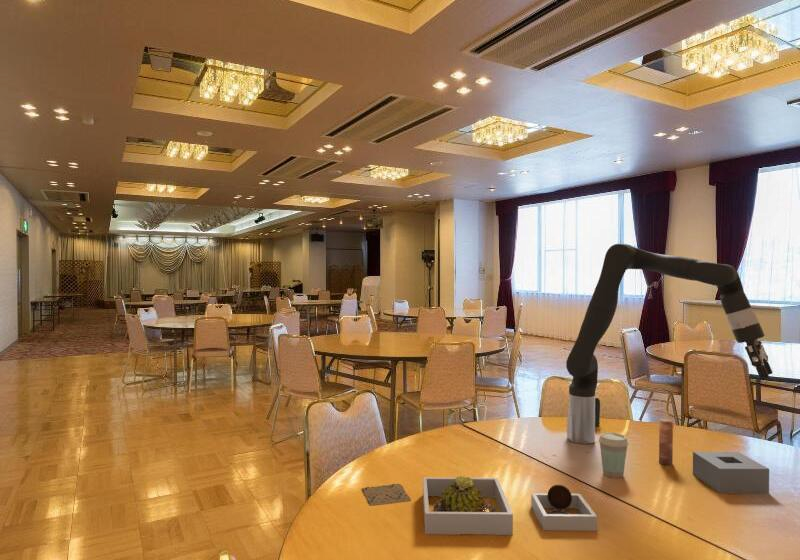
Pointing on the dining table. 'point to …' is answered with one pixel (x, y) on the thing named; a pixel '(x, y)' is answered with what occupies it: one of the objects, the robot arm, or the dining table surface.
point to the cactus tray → (467, 520)
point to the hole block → (731, 472)
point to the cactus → (462, 498)
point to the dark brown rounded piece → (559, 499)
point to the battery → (597, 411)
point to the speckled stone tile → (385, 494)
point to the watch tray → (564, 521)
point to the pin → (665, 442)
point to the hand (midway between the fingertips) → (767, 376)
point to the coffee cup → (613, 454)
